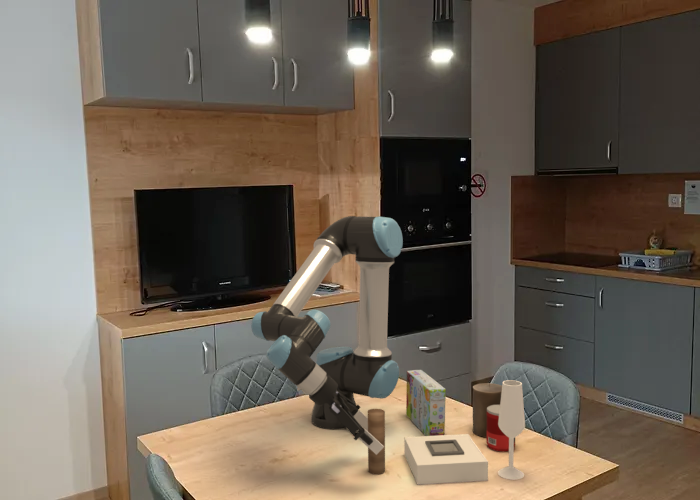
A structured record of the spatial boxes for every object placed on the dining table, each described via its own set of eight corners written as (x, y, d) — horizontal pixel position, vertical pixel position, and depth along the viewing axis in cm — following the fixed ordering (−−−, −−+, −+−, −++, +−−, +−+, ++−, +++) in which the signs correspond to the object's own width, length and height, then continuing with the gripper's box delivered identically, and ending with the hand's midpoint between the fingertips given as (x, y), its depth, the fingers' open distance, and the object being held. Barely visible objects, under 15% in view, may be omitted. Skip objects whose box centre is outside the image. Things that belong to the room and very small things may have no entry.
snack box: (446, 438, 192) (446, 388, 190) (428, 440, 190) (428, 390, 189) (421, 413, 212) (421, 368, 211) (404, 415, 211) (404, 369, 209)
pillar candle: (506, 439, 190) (507, 389, 189) (472, 437, 192) (472, 387, 191) (504, 427, 200) (505, 379, 198) (471, 425, 202) (472, 377, 200)
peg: (367, 467, 173) (366, 408, 171) (383, 466, 173) (383, 408, 171) (369, 474, 168) (368, 414, 167) (386, 474, 169) (385, 414, 167)
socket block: (404, 454, 181) (404, 435, 180) (468, 451, 182) (468, 431, 182) (417, 484, 163) (417, 463, 162) (487, 480, 164) (488, 459, 164)
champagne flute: (523, 469, 171) (525, 379, 168) (524, 480, 164) (526, 388, 162) (497, 467, 172) (498, 378, 170) (497, 478, 166) (498, 386, 163)
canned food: (515, 453, 181) (516, 414, 179) (486, 451, 182) (486, 413, 181) (514, 442, 188) (515, 405, 187) (486, 440, 190) (486, 403, 189)
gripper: (306, 381, 179) (361, 431, 182) (308, 413, 154) (372, 471, 157) (325, 361, 179) (380, 412, 182) (331, 390, 154) (394, 448, 157)
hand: (376, 439), depth 169 cm, fingers open, 13 cm apart
